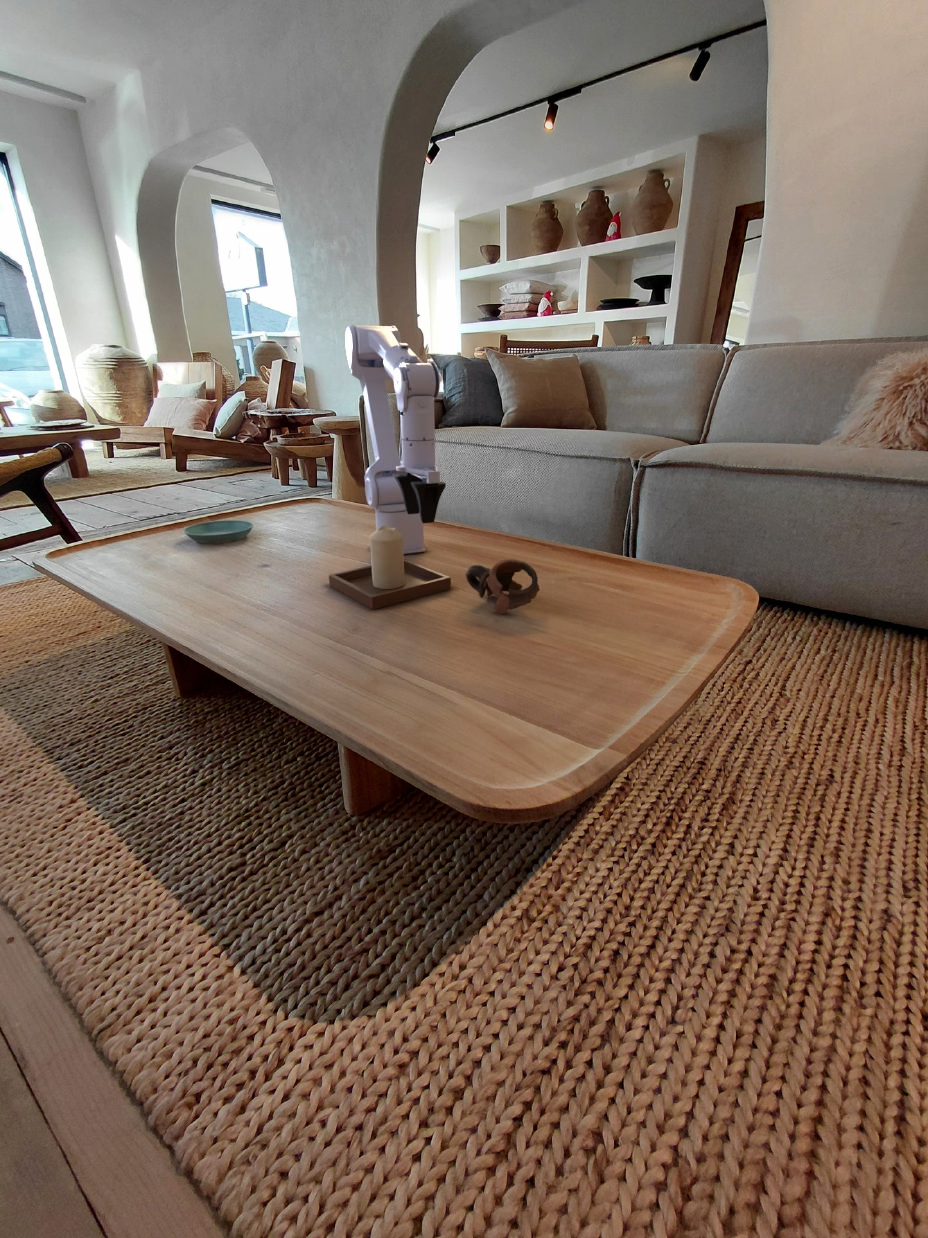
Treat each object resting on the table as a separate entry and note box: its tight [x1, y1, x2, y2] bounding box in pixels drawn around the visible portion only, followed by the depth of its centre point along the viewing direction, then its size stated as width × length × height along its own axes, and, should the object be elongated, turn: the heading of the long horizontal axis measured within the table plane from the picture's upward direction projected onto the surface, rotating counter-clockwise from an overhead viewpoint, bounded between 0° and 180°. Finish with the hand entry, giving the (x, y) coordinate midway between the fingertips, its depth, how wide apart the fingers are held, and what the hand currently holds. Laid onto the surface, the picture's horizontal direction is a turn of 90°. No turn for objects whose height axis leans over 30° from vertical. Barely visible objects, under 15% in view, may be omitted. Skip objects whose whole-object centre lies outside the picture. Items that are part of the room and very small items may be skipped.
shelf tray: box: [328, 558, 452, 611], centre depth 100 cm, size 16×15×2 cm
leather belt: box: [465, 558, 540, 615], centre depth 91 cm, size 12×10×8 cm
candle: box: [369, 525, 405, 589], centre depth 98 cm, size 6×6×10 cm
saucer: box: [183, 519, 254, 545], centre depth 131 cm, size 15×15×3 cm
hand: (420, 517), depth 104 cm, fingers open, 7 cm apart
